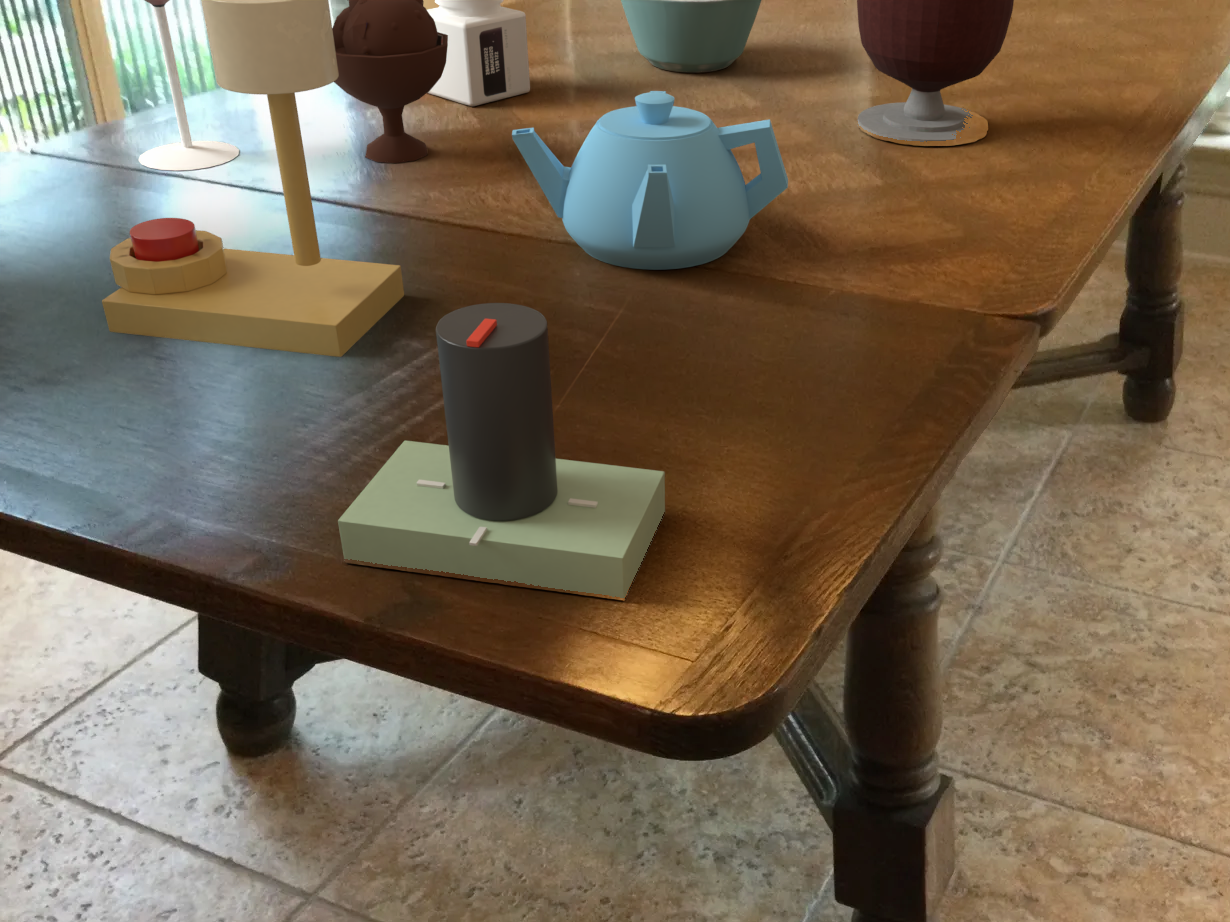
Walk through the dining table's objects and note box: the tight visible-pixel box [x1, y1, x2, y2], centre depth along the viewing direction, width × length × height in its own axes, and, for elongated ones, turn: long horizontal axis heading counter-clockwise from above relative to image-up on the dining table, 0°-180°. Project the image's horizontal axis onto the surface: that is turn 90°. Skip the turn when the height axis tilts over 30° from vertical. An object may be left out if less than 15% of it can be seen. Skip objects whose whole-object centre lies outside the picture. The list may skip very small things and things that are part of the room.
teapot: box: [511, 90, 789, 271], centre depth 98 cm, size 15×15×11 cm
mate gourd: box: [856, 0, 1015, 142], centre depth 121 cm, size 16×14×20 cm
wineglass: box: [138, 0, 240, 172], centre depth 111 cm, size 9×10×22 cm
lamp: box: [200, 0, 339, 266], centre depth 82 cm, size 7×7×16 cm
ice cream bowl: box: [332, 0, 448, 164], centre depth 114 cm, size 11×11×15 cm
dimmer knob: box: [435, 302, 558, 521], centre depth 63 cm, size 5×5×9 cm
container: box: [426, 0, 531, 107], centre depth 131 cm, size 8×8×13 cm
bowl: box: [620, 0, 762, 74], centre depth 143 cm, size 16×16×8 cm
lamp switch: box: [129, 217, 200, 262], centre depth 88 cm, size 4×4×2 cm
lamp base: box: [101, 229, 405, 358], centre depth 88 cm, size 18×10×4 cm, turn 78°
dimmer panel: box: [337, 440, 666, 598], centre depth 66 cm, size 14×9×3 cm, turn 78°
